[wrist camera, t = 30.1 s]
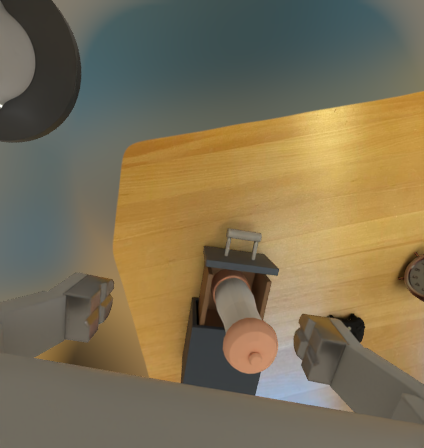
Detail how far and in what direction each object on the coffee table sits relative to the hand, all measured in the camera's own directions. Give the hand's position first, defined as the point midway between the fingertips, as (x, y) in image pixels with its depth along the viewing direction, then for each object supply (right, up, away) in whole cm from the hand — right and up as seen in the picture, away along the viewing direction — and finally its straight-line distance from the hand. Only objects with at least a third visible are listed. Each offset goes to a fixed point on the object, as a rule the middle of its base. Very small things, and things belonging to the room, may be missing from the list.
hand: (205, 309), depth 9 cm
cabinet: (+2, -20, +38) cm, 43 cm away
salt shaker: (+4, -9, +34) cm, 36 cm away
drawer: (+4, -6, +35) cm, 35 cm away
